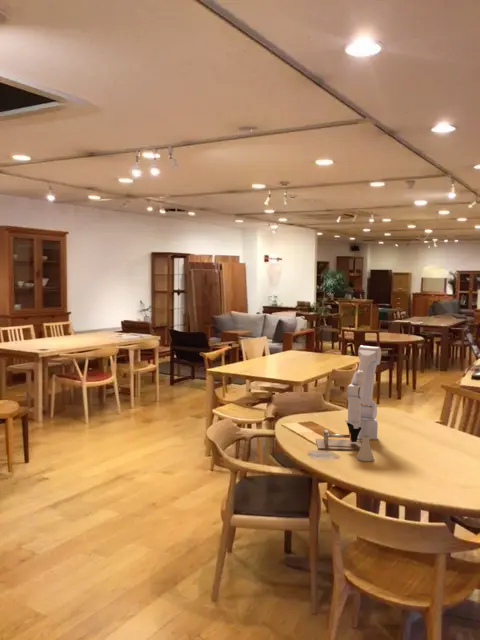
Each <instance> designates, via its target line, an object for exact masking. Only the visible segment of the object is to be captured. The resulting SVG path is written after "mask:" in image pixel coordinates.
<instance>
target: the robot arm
mask: <svg viewBox="0 0 480 640" xmlns="http://www.w3.org/2000/svg"><path fill="white" fill-rule="evenodd" d="M357 353H358V354H357V356H358V358H359V363H358V368H357V371H354V373H353V375H352V378H351V382H350V384H348V385H347V387H346V400H347V419H344V421H345V423H346V425H347V428H348V435H350V433H351V440H352V442H357V440H363V438H362V436H364V435H367V436H370V438H369V440H378V427H379V426H378V420H377V419H376V418H377V416H378V415H377V414H378V406H377V403H376V402H375V401H374V400H373V393H374V383H375V375H376V371H377V370H376V368H377V366H379V365H380V364H381V359H382V349H381V346H370V345H362V344H361V345H360V346H359V347H358V351H357Z"/></svg>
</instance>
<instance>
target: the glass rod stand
mask: <svg viewBox="0 0 480 640" xmlns="http://www.w3.org/2000/svg"><path fill="white" fill-rule="evenodd" d="M328 438H337V439H338V438H339V439H340V438H341V439H349V440H350V442H352V440H351V433H350V435H349V434H337V433H335V434H334V433H333V434H332V433H328Z"/></svg>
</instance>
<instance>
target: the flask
mask: <svg viewBox="0 0 480 640" xmlns="http://www.w3.org/2000/svg"><path fill="white" fill-rule="evenodd" d="M362 438H363V439H361V440H362V445H361V447H360V450H359V451H357V452H358V453H357V455H356V456H355V458H356V459H357V460H358V461H361V462H372V461H374V460H375V457H374V454H373V452H372V449H371V444H370V439H369V438H370V436H367V435H364V436H362Z"/></svg>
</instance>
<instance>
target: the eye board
mask: <svg viewBox="0 0 480 640" xmlns="http://www.w3.org/2000/svg"><path fill="white" fill-rule="evenodd" d="M328 434H329V429H323V438H315V443H316V446H317V450H320V451H325V450H326V451H348V452H351V451H352V452H359V450H360V447H361V445H362V440H363V439H357V442H350V439H338V438H337V439H335V438H333V439H331V438H329V437H328Z"/></svg>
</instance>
